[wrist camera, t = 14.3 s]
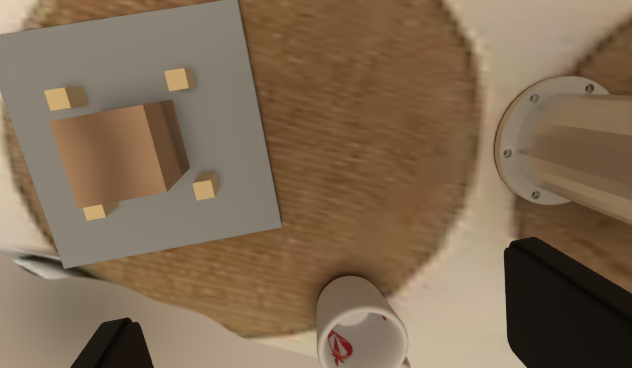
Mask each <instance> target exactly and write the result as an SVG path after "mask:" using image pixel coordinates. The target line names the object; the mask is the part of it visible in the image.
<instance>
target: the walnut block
mask: <svg viewBox="0 0 632 368" xmlns="http://www.w3.org/2000/svg"><path fill="white" fill-rule="evenodd" d="M49 124H50V127H51V130H52V133H53V136H54V139H55V142H56V145H57V147H58V150H59V153H60V156H61V159H62V162H63V165H64V168H65V171H66V174H67V177H68V179H69V182H70V185H71V188H72V191H73V194H74V197H75V200H76V203H77V206H78V209H80V208H86V207H91V206H96V205H101V204H107V203H112V202H117V201H123V200H128V199H133V198H139V197H144V196H149V195H155V194H160V193H165V192H168V191H169V190H170V189H171V187H172V186H173V185H174V184H175V183H176V182H177V181H178V180H179V179H180V178H181V177H182V176H183V175H184V174H185V173H186V172H187V171H188V170H189V169H190V166H189V162H188V158H187V154H186V150H185V147H184V143H183V139H182V135H181V131H180V127H179V123H178V119H177V116H176V112H175V108H174V104H173V100H166V101H161V102H155V103H149V104H143V105H138V106H132V107H126V108H121V109H115V110H109V111H103V112H98V113H92V114H87V115H81V116H75V117H70V118H64V119H58V120H53V121H49Z"/></svg>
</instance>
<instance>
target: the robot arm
mask: <svg viewBox="0 0 632 368" xmlns="http://www.w3.org/2000/svg"><path fill="white" fill-rule="evenodd" d="M504 151H505V152H504ZM495 159H496V164H497V168H498V171H499V173H500V176H501V178H502V179H503V181H504V182H505V184H506V185H507V187H509V188H510V189H511V190H512V191H513V192H514V193H515V194H517V195H518V196H520V197H522V198H524V199H526V200H528V201H530V202H533V203H537V204H541V205H559V204H564V203H568V202H571V201H573V202H575V203H578V204H580V205H583V206H585V207H588V208H590V209H593V210H595V211H598V212H600V213H603V214H605V215H608V216H610V217H613V218H615V219H618V220H620V221H622V222H625V223H627V224H630V225H632V95H611V94H610V93H609V92H608V91H607V90H606V89H605V88H604V87H603V86H601V85H600V84H598V83H597V82H595V81H592V80H590V79H587V78H584V77H577V76H560V77H554V78H549V79H546V80H544V81H541V82H538V83H537V84H535V85H533V86H532V87H530V88H528V89H527V90H526V91H524V92H523V93H522V94H521V95H520V96H519V97H518V98H517V99H516V100H515V101H514V102H513V103H512V105H511V106H510V107H509V108H508V110H507V112H506V113H505V115H504V117H503V119H502V121H501V123H500V126H499V129H498V132H497V137H496V142H495ZM504 269H505V294H506V319H507V338H508V343H509V345H510V347H511V349H512V351H513V352H514V354H515V355H516V356H517V357H518V358H519V359H520V360H521V361H522V363H523V364H524V365H525V366H526V367H527V368H632V294H631V293H630V292H628V291H626V290H625V289H623V288H621V287H620V286H618V285H616V284H614V283H613V282H611V281H609V280H608V279H606V278H604V277H603V276H601V275H599V274H598V273H596V272H594V271H592V270H591V269H589V268H587V267H586V266H584V265H582V264H581V263H579V262H577V261H576V260H574V259H572V258H571V257H569V256H567V255H565V254H564V253H562V252H560V251H559V250H557V249H555V248H554V247H552V246H550V245H549V244H547V243H545V242H543V241H542V240H540V239H538V238H536V237H530V238H525V239H520V240H515V241H512V242H511V243H510V245H509V248H506V249H505V251H504ZM71 368H154V367H153V364H152V360H151V357H150V354H149V351H148V348H147V345H146V342H145V338H144V335H143V332H142V329H141V327H140V324H139V323H138V322H134V323H133V322H132V320H131V319H130V318H123V319H118V320H113V321H108V322H104V323H102V324H101V325H100V326H99V328H98V329H97V331H96V332H95V334H94V335H93V336H92V338H91V339H90V341H89V342H88V343H87V345H86V346H85V348H84V349H83V350H82V352H81V353H80V355H79V356H78V358H77V359H76V360H75V362H74V363H73V365H72V366H71Z"/></svg>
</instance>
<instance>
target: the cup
mask: <svg viewBox="0 0 632 368" xmlns="http://www.w3.org/2000/svg"><path fill="white" fill-rule="evenodd" d="M407 350H408V335H407V332H406V329H405V326H404V324H403V323H402V321H401V320H400V318H399V317H398V316H397V314H396V313H395V312H394V310H393V309H392V308H391V306H390V305H389V304H388V302H387V301H386V300H385V298H384V297H383V296H382V294H381V293H380V292H379V291H378V289H377V288H376V287H375V286H374V285H373V284H372V283H370V282H369V281H367V280H366V279H364V278H361V277H357V276H344V277H340V278H338V279H335V280H334V281H332V282H331V283H329V284H328V285H327V286H326V287H325V288H324V290H323V291H322V293H321V294H320V297H319V299H318V303H317V354H318V359H319V362H320V364H321V367H322V368H410V363H409V361H408V359H407V357H406V354H407Z"/></svg>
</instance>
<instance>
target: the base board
mask: <svg viewBox="0 0 632 368" xmlns="http://www.w3.org/2000/svg"><path fill="white" fill-rule="evenodd" d="M0 91H1V94H2V97H3V100H4V102H5V105H6V108H7V111H8V114H9V116H10V119H11V122H12V125H13V127H14V130H15V133H16V136H17V139H18V141H19V144H20V147H21V150H22V152H23V155H24V158H25V161H26V164H27V166H28V169H29V172H30V175H31V177H32V180H33V183H34V186H35V189H36V191H37V194H38V197H39V200H40V202H41V205H42V208H43V211H44V214H45V216H46V219H47V222H48V225H49V227H50V230H51V233H52V236H53V239H54V241H55V244H56V247H57V250H58V252H59V255H60V258H61V261H62V264H63V266H64V269H65V268H70V267H75V266H81V265H86V264H91V263H97V262H102V261H107V260H112V259H118V258H123V257H128V256H133V255H139V254H144V253H149V252H155V251H160V250H165V249H170V248H176V247H181V246H186V245H191V244H197V243H202V242H207V241H213V240H218V239H223V238H228V237H234V236H239V235H244V234H249V233H255V232H260V231H265V230H271V229H276V228H281V227H282V222H281V216H280V211H279V206H278V201H277V196H276V191H275V186H274V181H273V176H272V170H271V165H270V160H269V155H268V150H267V145H266V140H265V135H264V130H263V124H262V119H261V114H260V109H259V104H258V99H257V94H256V89H255V84H254V79H253V73H252V68H251V63H250V58H249V53H248V48H247V43H246V38H245V33H244V27H243V22H242V17H241V12H240V7H239V2H238V0H223V1H216V2H210V3H203V4H197V5H190V6H184V7H177V8H171V9H164V10H158V11H151V12H145V13H138V14H132V15H125V16H119V17H112V18H106V19H99V20H93V21H86V22H80V23H73V24H67V25H60V26H54V27H47V28H41V29H34V30H28V31H21V32H15V33H8V34H2V35H0ZM166 100H173V104H174V108H175V112H176V116H177V119H178V123H179V127H180V131H181V135H182V139H183V143H184V147H185V150H186V154H187V158H188V162H189V166H190V169H189V170H188V171H187V172H186V173H185V174H184V175H183V176H182V177H181V178H180V179H179V180H178V181H177V182H176V183H175V184H174V185H173V186H172V187H171V189H170V190H169V191H168V192H165V193H160V194H155V195H149V196H144V197H139V198H133V199H128V200H123V201H117V202H112V203H107V204H101V205H96V206H91V207H86V208H80V209H78V206H77V203H76V200H75V197H74V194H73V191H72V188H71V185H70V182H69V179H68V177H67V174H66V171H65V168H64V165H63V162H62V159H61V156H60V153H59V150H58V147H57V145H56V142H55V139H54V136H53V133H52V130H51V127H50V124H49V121H53V120H58V119H64V118H70V117H75V116H81V115H87V114H92V113H98V112H103V111H109V110H115V109H121V108H126V107H132V106H138V105H143V104H149V103H155V102H161V101H166Z"/></svg>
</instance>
